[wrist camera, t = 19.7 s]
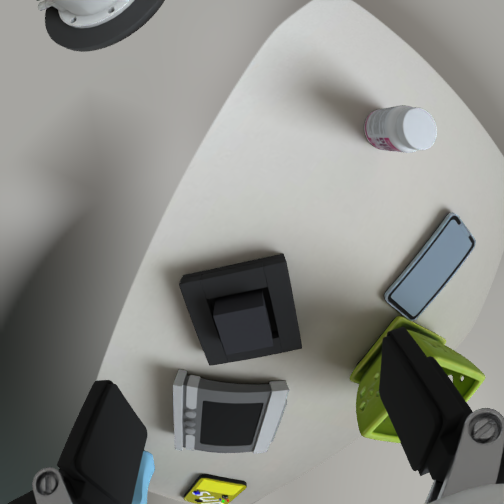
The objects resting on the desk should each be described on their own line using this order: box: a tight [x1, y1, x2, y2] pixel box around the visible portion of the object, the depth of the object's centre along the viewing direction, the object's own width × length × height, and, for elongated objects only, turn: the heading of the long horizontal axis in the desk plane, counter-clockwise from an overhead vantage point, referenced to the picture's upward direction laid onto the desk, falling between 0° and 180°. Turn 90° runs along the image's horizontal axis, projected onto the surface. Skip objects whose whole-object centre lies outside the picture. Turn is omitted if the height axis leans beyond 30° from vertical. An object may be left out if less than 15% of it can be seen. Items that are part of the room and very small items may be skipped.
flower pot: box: [350, 316, 485, 443], centre depth 35 cm, size 14×14×13 cm
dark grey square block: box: [213, 289, 273, 355], centre depth 34 cm, size 6×6×4 cm
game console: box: [184, 474, 247, 504], centre depth 54 cm, size 18×11×2 cm, turn 158°
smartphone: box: [385, 213, 476, 321], centre depth 35 cm, size 7×1×15 cm
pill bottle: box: [364, 105, 437, 153], centre depth 26 cm, size 5×5×8 cm
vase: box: [132, 451, 155, 504], centre depth 38 cm, size 10×10×25 cm
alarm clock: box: [173, 369, 289, 453], centre depth 42 cm, size 17×5×16 cm
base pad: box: [179, 254, 302, 365], centre depth 36 cm, size 12×12×2 cm
